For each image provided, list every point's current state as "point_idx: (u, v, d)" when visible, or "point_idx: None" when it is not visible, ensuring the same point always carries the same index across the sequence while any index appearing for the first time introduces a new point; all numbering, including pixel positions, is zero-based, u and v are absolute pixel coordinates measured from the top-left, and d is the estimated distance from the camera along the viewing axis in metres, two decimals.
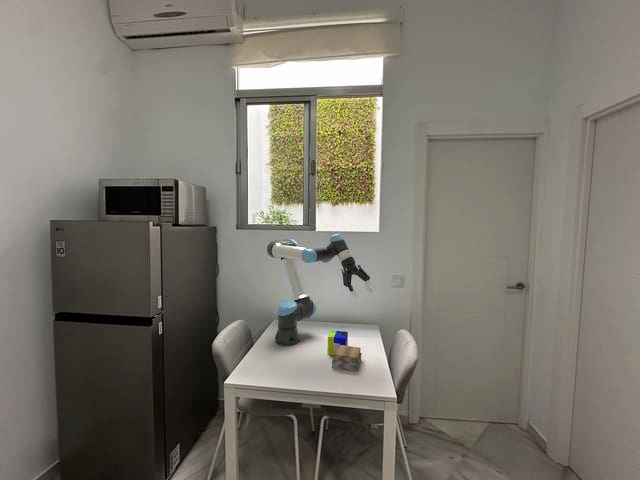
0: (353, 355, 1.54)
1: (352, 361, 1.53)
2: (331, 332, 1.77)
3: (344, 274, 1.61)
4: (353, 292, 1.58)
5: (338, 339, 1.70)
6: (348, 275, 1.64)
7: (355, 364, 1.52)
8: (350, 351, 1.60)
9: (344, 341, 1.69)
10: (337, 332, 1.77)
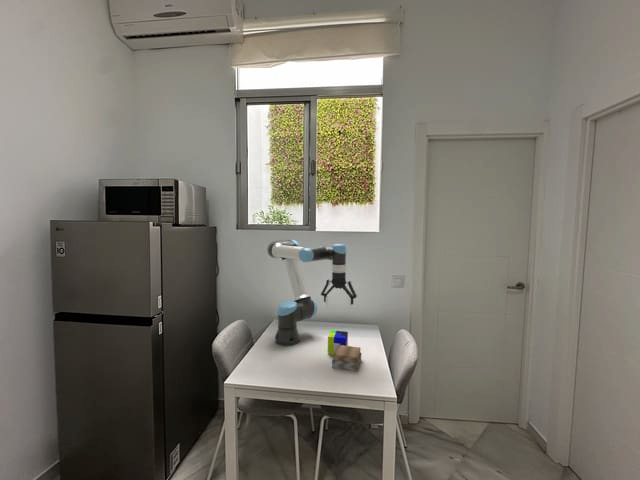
0: (353, 355, 1.54)
1: (352, 361, 1.53)
2: (331, 332, 1.77)
3: (325, 285, 1.74)
4: None
5: (338, 339, 1.70)
6: (331, 287, 1.74)
7: (355, 364, 1.52)
8: (350, 351, 1.60)
9: (344, 341, 1.69)
10: (337, 332, 1.77)
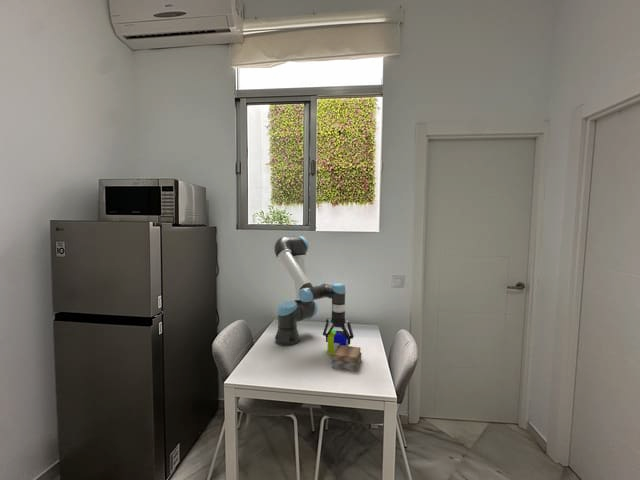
0: (353, 355, 1.54)
1: (352, 361, 1.53)
2: (331, 332, 1.77)
3: None
4: None
5: (338, 339, 1.70)
6: None
7: (355, 364, 1.52)
8: (350, 351, 1.60)
9: (344, 341, 1.69)
10: (337, 332, 1.77)
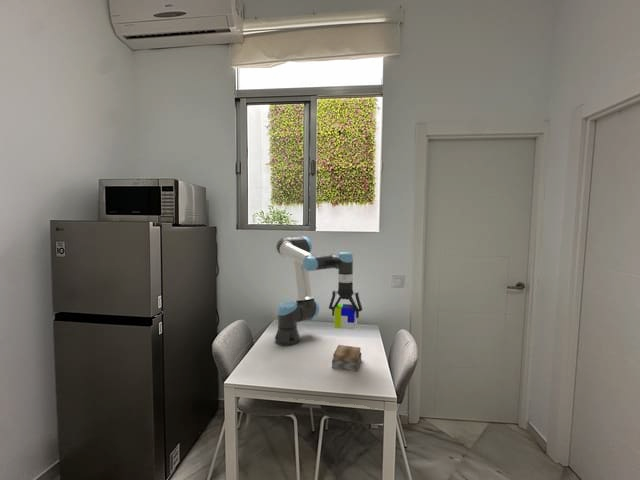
0: (353, 355, 1.54)
1: (352, 361, 1.53)
2: (338, 305, 1.65)
3: (332, 297, 1.64)
4: None
5: (346, 311, 1.57)
6: (338, 299, 1.63)
7: (355, 364, 1.52)
8: (350, 351, 1.60)
9: (352, 313, 1.57)
10: (344, 305, 1.65)
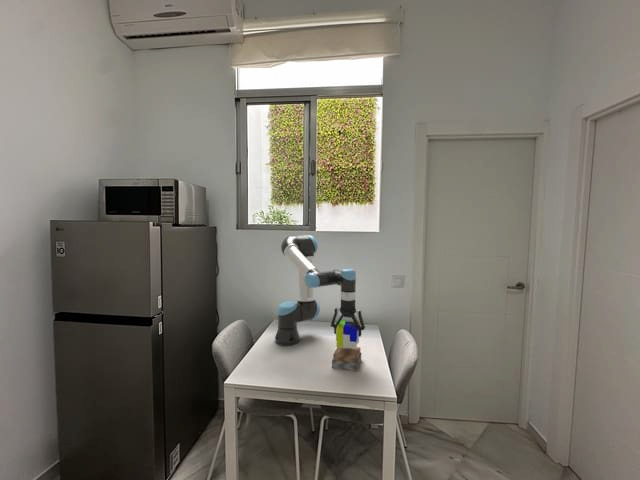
0: (353, 355, 1.54)
1: (352, 361, 1.53)
2: (340, 323, 1.61)
3: (334, 315, 1.60)
4: None
5: (348, 330, 1.54)
6: None
7: (355, 364, 1.52)
8: (350, 351, 1.60)
9: (355, 332, 1.53)
10: (346, 323, 1.61)
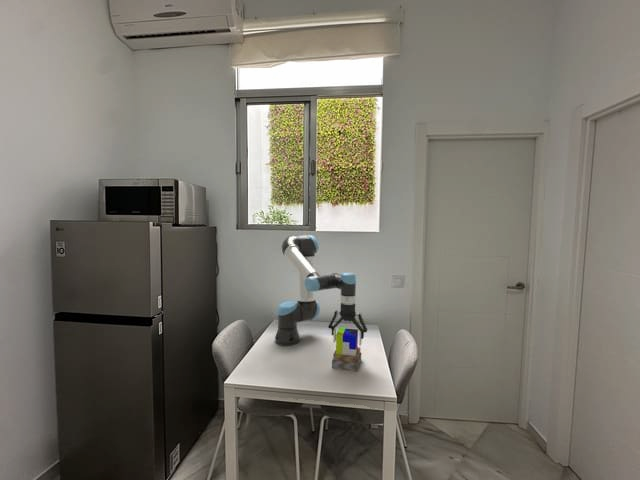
0: None
1: (352, 361, 1.53)
2: (340, 330, 1.62)
3: (333, 317, 1.60)
4: None
5: (347, 337, 1.54)
6: (339, 319, 1.60)
7: (355, 364, 1.52)
8: None
9: (354, 340, 1.53)
10: (346, 330, 1.62)
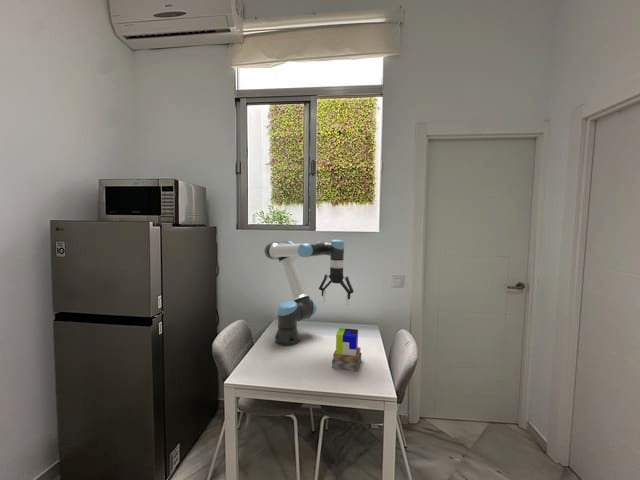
0: None
1: (352, 361, 1.53)
2: (340, 330, 1.62)
3: (323, 280, 1.78)
4: None
5: (347, 337, 1.54)
6: (329, 281, 1.77)
7: (355, 364, 1.52)
8: None
9: (354, 340, 1.53)
10: (346, 330, 1.62)
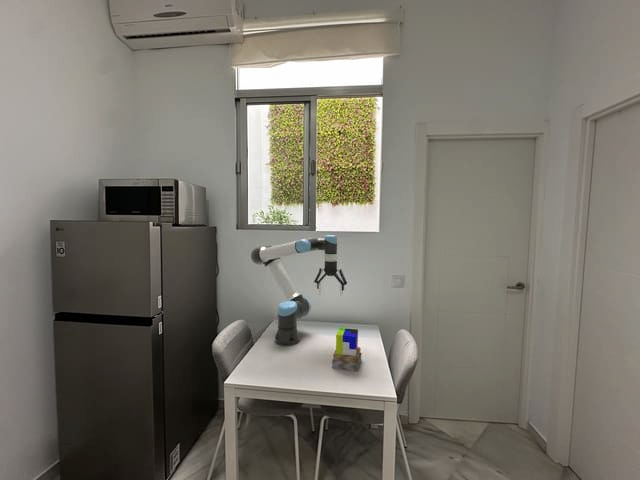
0: None
1: (352, 361, 1.53)
2: (340, 330, 1.62)
3: (318, 273, 1.89)
4: None
5: (347, 337, 1.54)
6: (323, 275, 1.88)
7: (355, 364, 1.52)
8: None
9: (354, 340, 1.53)
10: (346, 330, 1.62)
